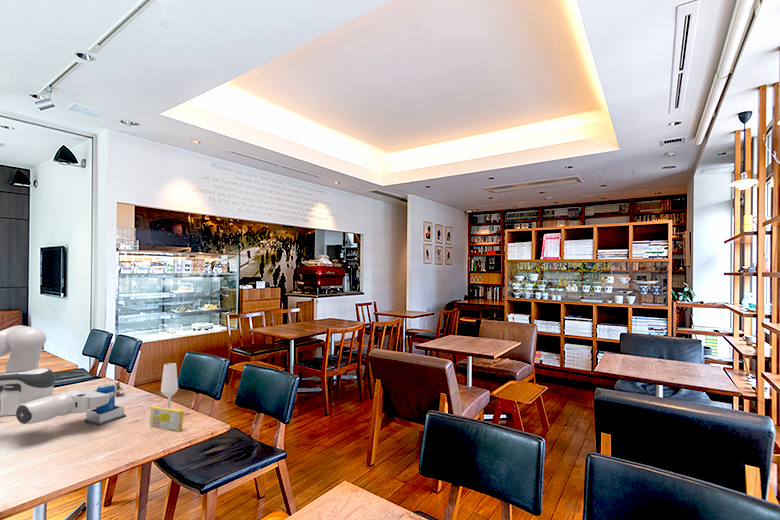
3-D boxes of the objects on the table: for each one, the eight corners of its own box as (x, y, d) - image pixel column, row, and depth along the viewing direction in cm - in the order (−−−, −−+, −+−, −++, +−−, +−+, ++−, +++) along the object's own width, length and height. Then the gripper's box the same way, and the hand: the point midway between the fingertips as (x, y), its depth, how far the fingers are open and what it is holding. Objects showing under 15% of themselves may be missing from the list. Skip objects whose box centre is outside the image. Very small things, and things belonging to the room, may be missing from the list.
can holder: (83, 421, 166) (83, 411, 166) (110, 413, 176) (111, 403, 176) (98, 426, 162) (99, 415, 162) (125, 417, 172) (126, 406, 172)
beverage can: (104, 416, 165) (104, 388, 165) (92, 414, 166) (93, 386, 167) (118, 410, 171) (118, 383, 171) (106, 409, 173) (107, 382, 173)
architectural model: (122, 394, 204) (122, 380, 205) (124, 397, 199) (124, 382, 199) (114, 395, 202) (114, 381, 202) (116, 398, 197) (116, 384, 197)
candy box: (183, 430, 158) (183, 410, 158) (178, 432, 156) (179, 411, 156) (153, 424, 163) (154, 405, 164) (149, 426, 161) (149, 407, 162)
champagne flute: (161, 423, 165) (163, 367, 165) (158, 418, 170) (159, 364, 170) (179, 419, 169) (180, 364, 170) (175, 415, 174) (176, 361, 175)
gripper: (57, 405, 161) (94, 396, 174) (85, 413, 153) (121, 402, 165) (57, 390, 162) (94, 382, 174) (85, 397, 153) (122, 388, 166)
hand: (108, 392), depth 170 cm, fingers closed on beverage can, 6 cm apart
